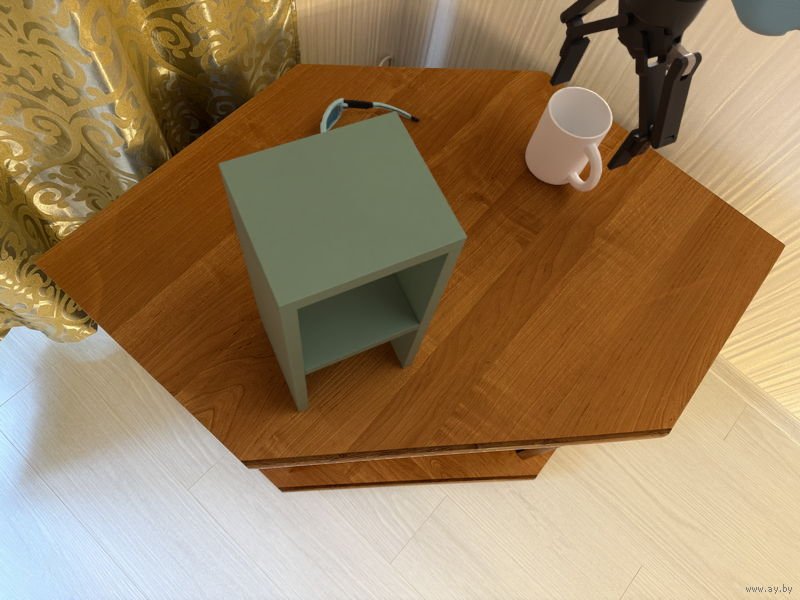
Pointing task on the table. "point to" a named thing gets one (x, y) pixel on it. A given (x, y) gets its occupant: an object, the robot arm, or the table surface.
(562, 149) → the mug
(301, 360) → the shelf
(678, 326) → the table surface
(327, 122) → the sunglasses
